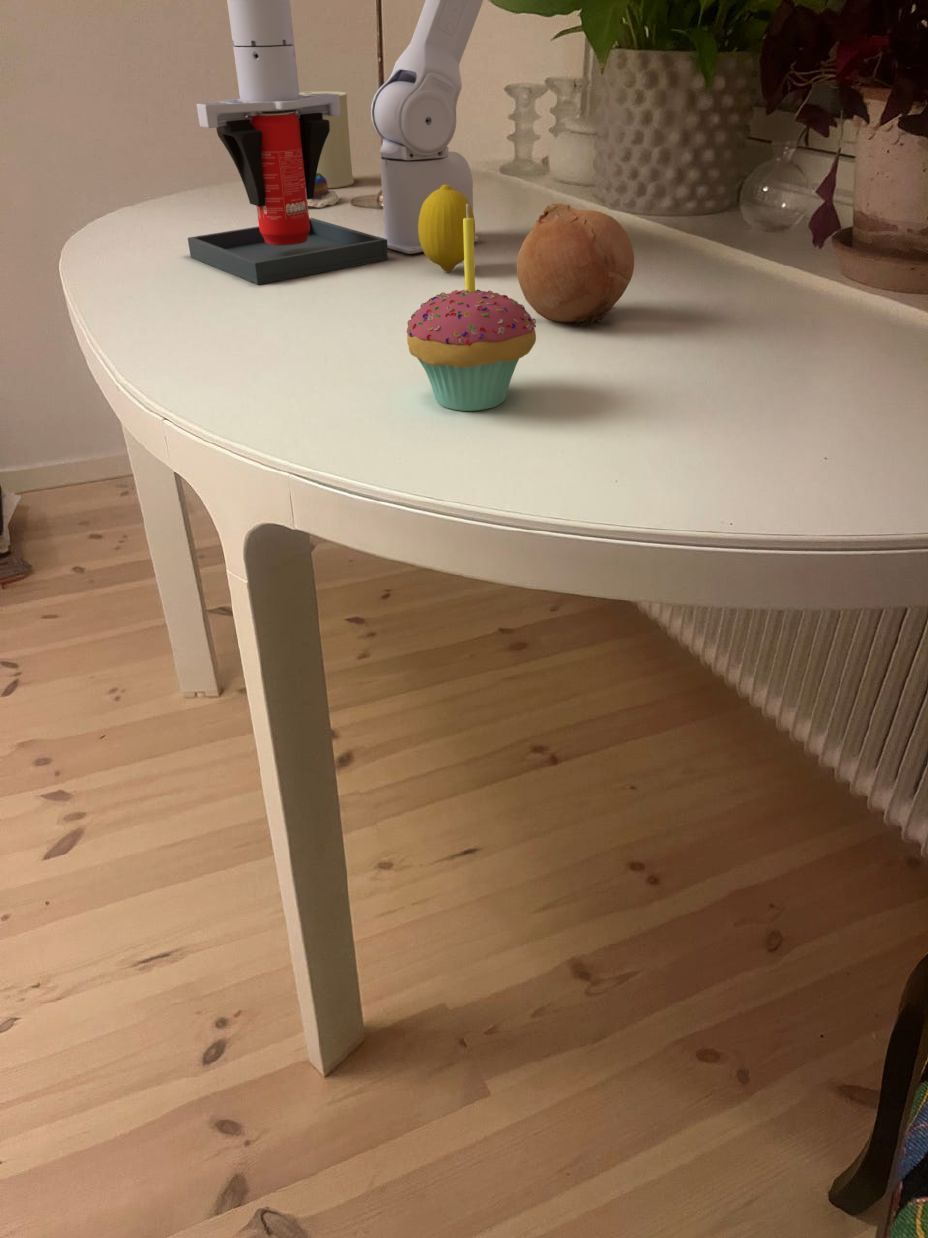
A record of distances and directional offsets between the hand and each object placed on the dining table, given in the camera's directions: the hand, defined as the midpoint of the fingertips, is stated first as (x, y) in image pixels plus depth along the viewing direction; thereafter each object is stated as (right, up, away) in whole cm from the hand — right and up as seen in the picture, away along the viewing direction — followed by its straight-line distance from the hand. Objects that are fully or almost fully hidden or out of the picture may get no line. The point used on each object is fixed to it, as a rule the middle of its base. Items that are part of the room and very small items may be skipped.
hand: (281, 200), depth 96 cm
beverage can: (0, -3, +2) cm, 4 cm away
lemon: (+17, -8, -3) cm, 19 cm away
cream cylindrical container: (-2, +21, +42) cm, 47 cm away
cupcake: (+19, -28, -32) cm, 47 cm away
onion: (+28, -18, -17) cm, 37 cm away
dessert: (-2, +13, +30) cm, 32 cm away
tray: (0, -5, +3) cm, 6 cm away
